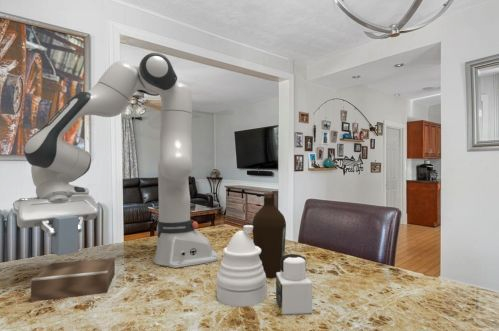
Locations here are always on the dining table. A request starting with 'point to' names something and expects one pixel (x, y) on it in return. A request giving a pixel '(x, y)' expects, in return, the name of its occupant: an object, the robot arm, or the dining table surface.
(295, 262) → the medicine bottle
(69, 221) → the blue-grey rectangular block
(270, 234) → the olive oil
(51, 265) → the dock
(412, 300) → the dining table surface
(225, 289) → the honey pot
